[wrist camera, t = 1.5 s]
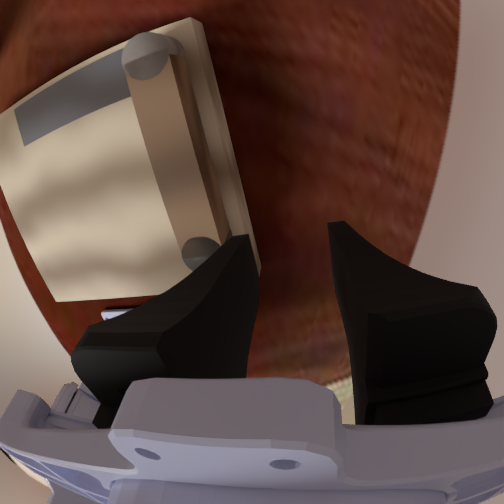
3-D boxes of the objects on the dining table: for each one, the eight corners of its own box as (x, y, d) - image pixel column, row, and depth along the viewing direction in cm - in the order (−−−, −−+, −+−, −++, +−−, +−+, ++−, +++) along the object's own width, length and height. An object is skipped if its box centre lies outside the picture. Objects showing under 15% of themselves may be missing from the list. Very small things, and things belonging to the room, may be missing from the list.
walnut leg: (137, 45, 14) (116, 43, 12) (179, 30, 14) (162, 24, 12) (199, 255, 21) (189, 277, 19) (236, 250, 21) (230, 272, 19)
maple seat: (261, 265, 25) (257, 286, 22) (68, 286, 29) (55, 302, 27) (202, 23, 16) (190, 16, 14) (1, 121, 20) (-19, 129, 18)
